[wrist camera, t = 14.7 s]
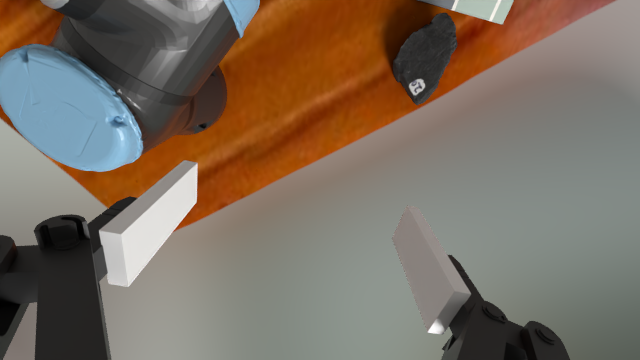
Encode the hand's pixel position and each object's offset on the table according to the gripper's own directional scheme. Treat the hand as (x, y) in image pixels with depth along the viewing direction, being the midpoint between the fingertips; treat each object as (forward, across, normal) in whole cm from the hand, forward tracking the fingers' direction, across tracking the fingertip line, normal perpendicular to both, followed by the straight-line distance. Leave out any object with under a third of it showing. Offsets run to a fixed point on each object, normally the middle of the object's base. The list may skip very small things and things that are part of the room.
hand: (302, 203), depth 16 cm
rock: (+32, +14, +10) cm, 37 cm away
